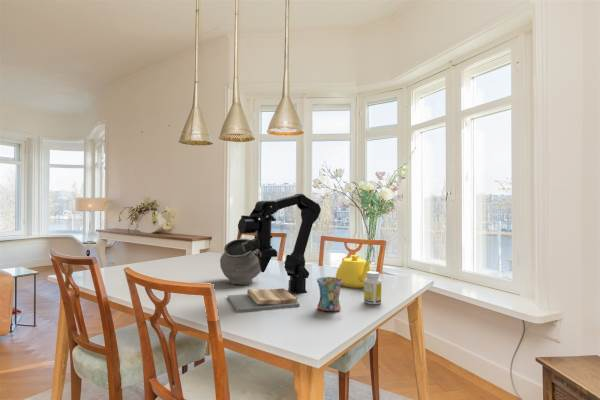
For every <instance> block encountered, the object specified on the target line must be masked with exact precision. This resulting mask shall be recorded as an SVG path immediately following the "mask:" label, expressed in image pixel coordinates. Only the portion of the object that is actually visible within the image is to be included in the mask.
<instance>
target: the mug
mask: <svg viewBox="0 0 600 400" xmlns="http://www.w3.org/2000/svg"><path fill="white" fill-rule="evenodd" d="M316 281H317V284H318V288H319V301H318V304H317V308H318V309H319V310H321V311H323V312H336V311H339V310H341V309H342V306H341V303H340V298H339V297H340V295H341V293H340V291H341V290H340V289H341V286H342V285H341V284H342V282H343V280H342V279H340V278H336V276H334V277H332V276H322V277H317V279H316Z"/></svg>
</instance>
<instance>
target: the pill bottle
mask: <svg viewBox="0 0 600 400" xmlns="http://www.w3.org/2000/svg"><path fill="white" fill-rule="evenodd" d="M379 276H380V272H378V271H373V270H372V271H368V272H367V278H366V279H365V280H364V287H363V291H364V292H363V296H364V297H363V300H364V301H363V302H365V303H366V304H370V305H379V304H382V280H381V279H380V278H379Z"/></svg>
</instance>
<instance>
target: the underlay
mask: <svg viewBox="0 0 600 400" xmlns="http://www.w3.org/2000/svg"><path fill="white" fill-rule="evenodd" d="M227 299H228V301H229V302H230V304H231V305H232V307H233V308H234V310H235V311H236V313H245V312H257V311H267V310H278V309H288V308H298V307H300V303H299V302H298V301H297V303H289V304H282V303H281V304H256V302H255V301H254V300H253V299H252V298H251V297H250V296H249V295H248V293H242V294H241V293H240V294H228V295H227Z"/></svg>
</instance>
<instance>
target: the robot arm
mask: <svg viewBox="0 0 600 400" xmlns="http://www.w3.org/2000/svg"><path fill="white" fill-rule="evenodd" d="M295 205H296V207H297V208H298V209H299V210H300V211H301V212H300V216H301V224H300V226H299V230H298V234H297V237H296V240H295V244H294V247H293V250H292V253H290V254H287V255H285V260H284V262H283V264H284V270H285V272H286V275H287V276H288V277H289V280H288V289H287V290H288V292H289V293H291V294H299V293H301V294H303V293H307V292H308V290H306V288H307V287H306V284H307V283H306V282H307V281H306V279H308V278H309V276H310V272H309V271H308V269H307V268H306V259H305V253H306V248H307V245H308V243H309V238H310V234H311V231H312V228H313V224H314V223H315V222H316V221H317V220H318V219H319V216H320V215H321V212H322V208H321V206H320V204H319V203H318V202H315V201H314V200H312V199H310V198H309V197H307V196H306V195H305V194H303V193H296V194H295V193H294V195H290V196H286V197H282V198H278V199H275V200H258V201H257V202H256V203H255V205H254V208H253V210H251V212H250V214H249V215H241V216H240V219H239V220H238V223H237V230H238V233H239V232H240V233H242V234H254V238H252V239H249V241H246V242H244V243H242V247H243V250H244V251H245V252H249V251H252V252H253V251H256V253H254V255H255V256H257V257H258V260H259V264H260V269H261V272H260V273H265V271H266V270H267V268H268V265H269V263H270V261H271V259H272V258H278V250H276V248H274V247H273V246H272V241H271V240H272V239H273V235H272V222H276V221H277V219H276V218H275V217H274V216H273V214H275V213H277V212H278V211H279V210H282V209H285V208H289V207H292V206H295Z"/></svg>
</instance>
